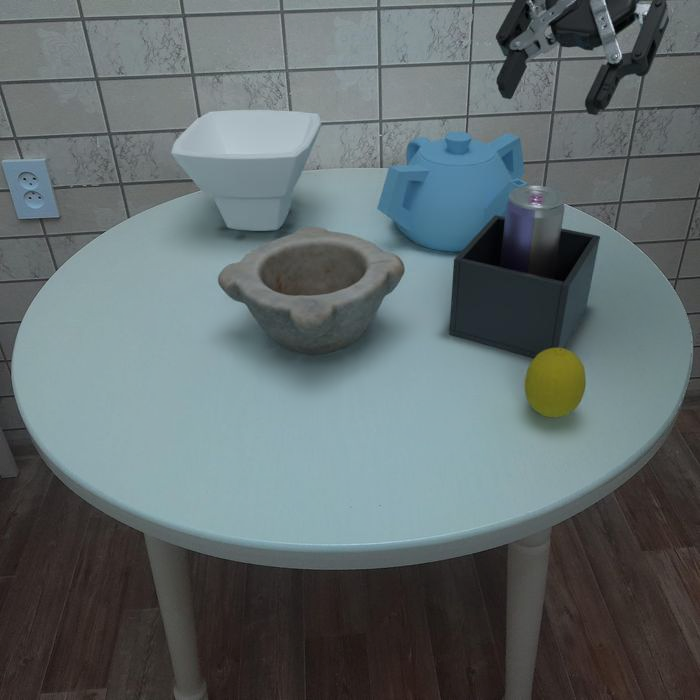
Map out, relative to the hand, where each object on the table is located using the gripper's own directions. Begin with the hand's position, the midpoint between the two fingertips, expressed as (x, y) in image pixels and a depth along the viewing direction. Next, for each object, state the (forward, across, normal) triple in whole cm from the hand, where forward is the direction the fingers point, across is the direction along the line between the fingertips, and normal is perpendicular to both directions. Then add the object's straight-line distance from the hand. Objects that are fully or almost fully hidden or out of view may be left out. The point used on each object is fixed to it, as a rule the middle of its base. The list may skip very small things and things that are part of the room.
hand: (545, 101), depth 65 cm
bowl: (+15, -46, +22) cm, 53 cm away
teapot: (+4, -21, +34) cm, 40 cm away
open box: (+16, -2, +22) cm, 27 cm away
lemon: (+25, +8, +13) cm, 30 cm away
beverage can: (+15, -2, +22) cm, 27 cm away
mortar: (+27, -20, +11) cm, 35 cm away
